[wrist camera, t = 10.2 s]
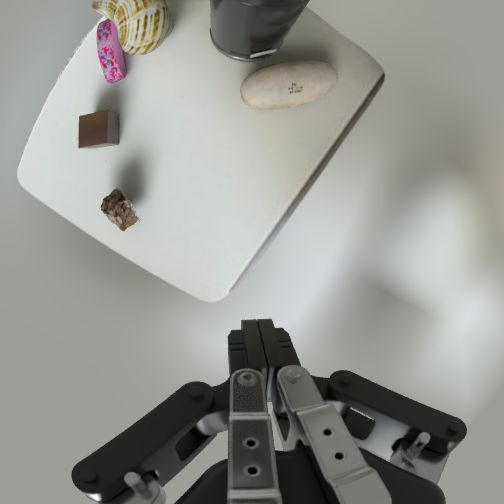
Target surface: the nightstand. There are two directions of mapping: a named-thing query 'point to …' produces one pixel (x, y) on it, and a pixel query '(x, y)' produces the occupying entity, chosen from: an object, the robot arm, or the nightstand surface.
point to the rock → (119, 210)
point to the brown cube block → (98, 129)
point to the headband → (110, 52)
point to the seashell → (138, 22)
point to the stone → (288, 84)
